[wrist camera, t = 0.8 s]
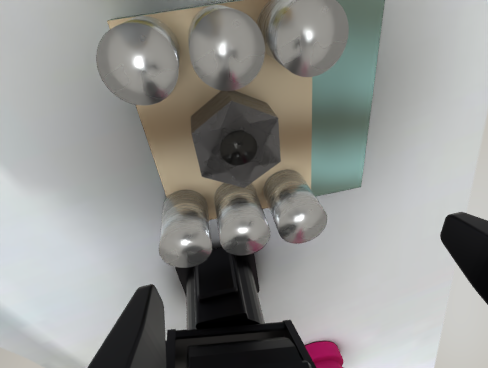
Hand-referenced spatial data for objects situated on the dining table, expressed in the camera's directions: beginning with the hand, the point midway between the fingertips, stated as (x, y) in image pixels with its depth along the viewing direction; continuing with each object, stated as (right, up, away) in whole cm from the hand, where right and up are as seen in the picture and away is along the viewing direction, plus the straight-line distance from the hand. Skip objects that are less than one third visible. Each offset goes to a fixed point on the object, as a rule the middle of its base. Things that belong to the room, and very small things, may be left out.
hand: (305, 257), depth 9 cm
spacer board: (-1, +6, +10) cm, 12 cm away
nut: (-2, +5, +9) cm, 11 cm away
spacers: (-3, +5, +9) cm, 11 cm away
